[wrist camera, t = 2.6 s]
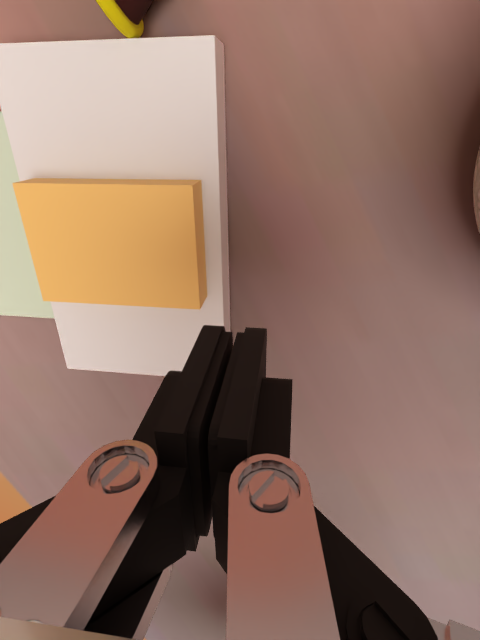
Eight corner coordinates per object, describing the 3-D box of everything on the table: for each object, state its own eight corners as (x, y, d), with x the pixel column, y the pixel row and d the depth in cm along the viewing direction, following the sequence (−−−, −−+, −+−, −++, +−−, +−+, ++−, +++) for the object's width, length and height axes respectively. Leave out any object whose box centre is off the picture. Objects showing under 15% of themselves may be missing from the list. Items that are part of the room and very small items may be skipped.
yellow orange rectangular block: (207, 296, 25) (200, 309, 23) (60, 288, 26) (43, 301, 24) (201, 179, 22) (192, 185, 20) (34, 178, 23) (12, 183, 21)
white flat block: (231, 361, 30) (225, 380, 28) (83, 350, 31) (67, 368, 29) (223, 44, 21) (214, 35, 18) (16, 51, 22) (-16, 44, 20)
